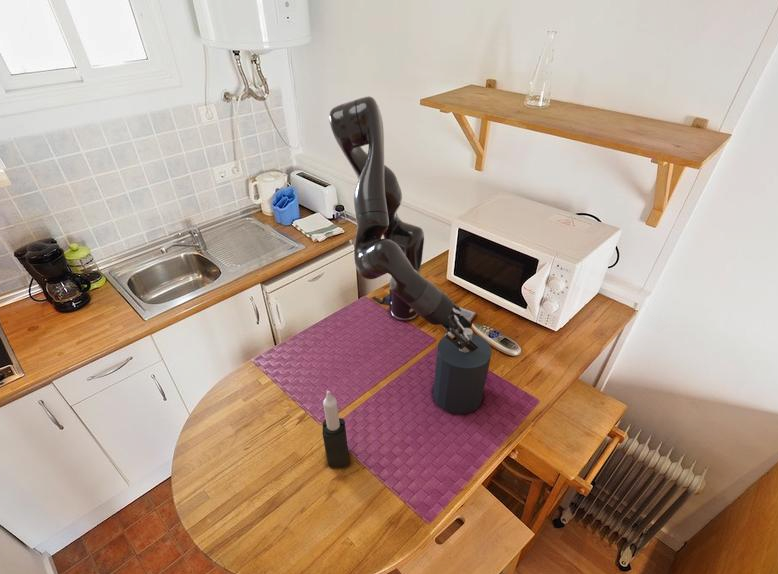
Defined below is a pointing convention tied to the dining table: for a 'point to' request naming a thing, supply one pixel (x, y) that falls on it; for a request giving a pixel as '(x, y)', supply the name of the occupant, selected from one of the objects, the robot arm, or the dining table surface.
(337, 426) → the candle
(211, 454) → the dining table surface
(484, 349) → the grey canister with knob
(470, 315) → the grey handheld device
